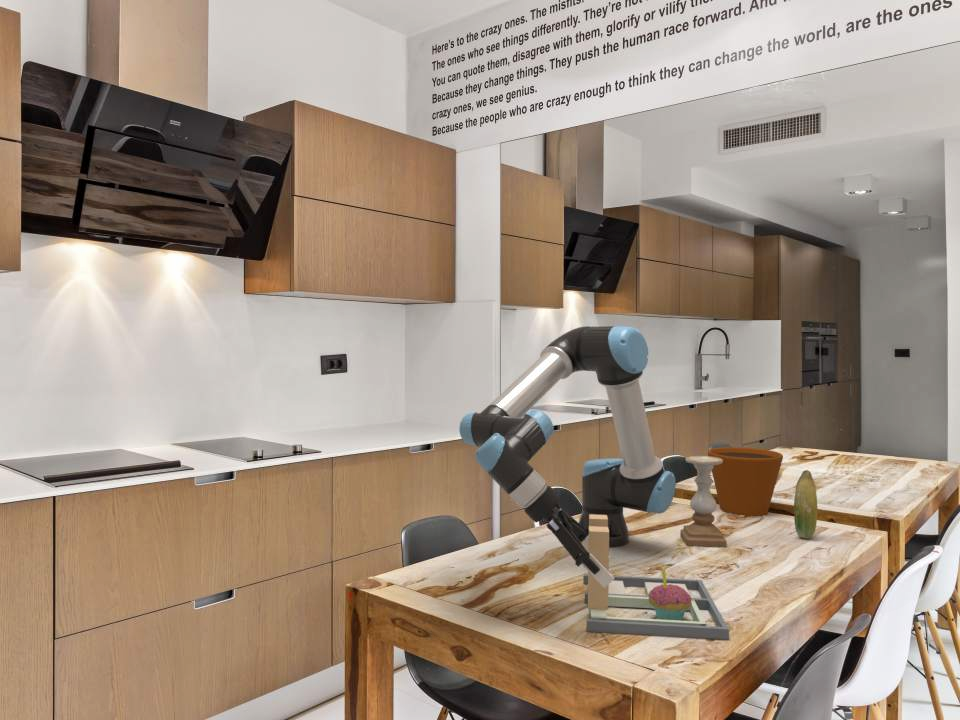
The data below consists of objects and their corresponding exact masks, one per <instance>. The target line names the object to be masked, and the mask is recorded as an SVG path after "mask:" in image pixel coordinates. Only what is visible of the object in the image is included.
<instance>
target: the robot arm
mask: <svg viewBox="0 0 960 720" xmlns="http://www.w3.org/2000/svg"><path fill="white" fill-rule="evenodd" d="M648 356H649V347H648V344H647V340H646V339H645V337H644V335H643V334H642V332H641V331H640V330H638V329H637V328H635V327H634V326H633V327H632V326H624V325H615V326H614V325H613V326H611V325H610V326H609V325H608V326H605V325H604V326H580V327H576V328H574V329H571V330H569V331H567V332H565V333H563V334H562V335H560V336H558V337H557V338H555V339H554V340H553V341H551V342H550V343H549V344H548V345H547V346H545V347H544V348H543V349H542V351H541V352H540V356H539V358H538V359H537V360H536V361H535V362H534V363H533V364H532V365H531V366H530V367H528V369H526V371H525V370H524V372H523V373H522V374H521V375H520V376H518V378H517V379H515V380H514V381H513V382H512V383H511V384H510V385H509V386H508V387H507V388H506V389H505V390H504V391H502V392H501V393H500V394H499V395H498V396H497V397H496V398H494V399H493V400H492V402H491V403H490V404H489V405H488V406H486V408H484V409H483V410H481V412H470V413H467V414H465V415H464V416H463V417H462V418H461V420H460V422H459V430H458V431H459V435H460V438H461V440H462V441H463V442H464V443H465V444H468V445H471V446H475V447H479V448H477V450H476V451H475V452H474V459H475V461H476V462H477V463H478V465H479V466H480V467H481V468H482V469H483V470H484V472H485V473H486V474H487V475H488V476H489V477H491V479H492V480H494V482H495V483H496V484H497V485H499V487H500V488H502V489H503V491H504V492H505V493H506V494H508V496H509V497H510V499H509V501H510V502H513V503H514V502H515V503H516V504H517V505H518V506H519V507H520V508H524V511H523V512H524V513H525V514H527V516H528V517H529V518H530V520H531V521H533V522H534V523H539V522H541V521H542V520H543V519H545V520H546V522H547V524H546V527H547V529H548V530H550V531H551V533H552V534H553V535H554V536H555V538H556V539H557V540H558V541H559V542H560V544H561V545H562V547H564V549H565V550H566V551H567V552H568V553H569V555H570V556H571V557H572V559H573V560H574V561H575V565H576V566H577V567H578V568H579V567H580V566H582V567H583V568H584V569H585V570H586V571H587V573H588V572H589V573H590V574H591V575H592V576H593V577H594V578H595V579H596V580H597V581H598V582H599V583H600V584H601V585H602V586H603V587H604V588H605V587H606V586H607V585H608V584H609V583H611V582H612V581H613V580H614V577H613V576H614V575H612V574H611V573H610V571H609V572H608V571H607V570H606V569H605V568H604V567H603V566H602V565H601V564H600V563H599V562H598V561H597V559H596V558H595V557H594V556H593V555H592V554H589V553H588V547H589V514H593V515H607V518H608V529H609V547H618V546H619V547H620V546H623V545H627V544H628V543H629V542H630V532H629V528H628V525H627V522H626V518H625V516H624V509H629V510H635V511H638V512H639V511H640V512H645V513H647V514H651V513H652V514H660V515H661V514H663V513H665V512H667V510H668V509H669V508H670V506H671V504H672V502H673V500H674V496H675V494H676V486H677V484H676V477H675V475H674V473H673V472H671V471H669V470H665V469H664V465H663V461H662V459H661V458H660V457H658V456H656V454H655V449H654V444H653V440H652V436H651V431H650V425H649V421H648V417H647V413H646V408H645V404H644V398H643V395H642V390H641V386H640V379H641V378H642V376H643V375H644V374H643V373H644V371H645V369H646V368H647V365H648V362H649V357H648ZM581 371H582V372H583V371H587V372H588V371H589V372H595V373H596V378H597V381H598V383H599V384H600V385H601V386H604V387H605V390H606V394H607V397H608V402H609V406H610V411H611V416H612V421H613V424H614V427H615V432H616V437H617V441H618V445H619V448H620V453H621V457H622V458H617V457H616V458H615V457H614V458H613V457H612V458H598V459H597V458H596V459H592V460H587V461H585V462H584V464H583V466H582V475H581V478H582V481H581V482H582V484H581V485H582V487H581V488H582V489H581V490H582V491H581V492H582V493H581V495H582V496H581V497H582V498H581V499H582V500H581V501H582V505H581V507H582V508H581V513H580V514H581V515H580V516H579V517H580V518H579V520H578V521H577V520H576V519H575V518H574V517H573V516H572V515H570V514H569V513H568V512H567V511H566V510H564V509H563V508H562V506H560V504H559V502H560V500H561V496H560V495H559V494H558V493H557V492H556V491H555V490H554V489H553V488H552V486H550V485H547V481H546V480H545V479H544V478H543V477H542V476H541V475H540V474H539V473H538V472H537V471H536V470H535V469H534V467H532V466H531V464H530V463H529V462H530V461H531V460H532V458H533V457H534V456H535V455H536V454H537V453H538V452H539V451H540V450H541V449H542V447H543V446H545V445H546V444H547V442H548V440H549V439H550V438H551V436H552V435H553V434H554V430H555V429H554V428H555V427H554V423H553V421H552V419H551V418H550V417H549V416H548V414H546V413H545V412H544V411H542V410H541V409H540V410H539V409H532V408H533V406H535V405H536V404H537V403H538V401H540V400H541V399H542V398H543V397H544V396H545V395H546V394H547V393H549V391H550V390H551V389H552V388H553V387H554V386H556V384H557V383H558V382H559V381H561V380H565V379H567V378H569V377H570V376H571V375H572V374H573V373H576V372H581ZM610 559H611V556H610V555H609V560H610Z"/></svg>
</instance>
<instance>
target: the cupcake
mask: <svg viewBox="0 0 960 720" xmlns="http://www.w3.org/2000/svg"><path fill="white" fill-rule="evenodd" d="M661 565H662V567H661V574H662V578H663V584H664V585H663V584H662V585H660V586H657V587H654V589H652V590H651V591H650V593H649V602H650V603H651V605H652V606H654V608H653V609H654V611H655V616H656V619H661V620H679V621H683V619H684V616H685V614H686V611H687V610H686V609H689V608H690V607H691V605H692V602H691V598H692V596H691V594H690V593H689V594H690V595H689V594H688V593H687V592H686V591H685V590H684V589H682V588H681V587H679V586H678V585H671V584H670V585H667V582H666V578H667V576H666V575H667V574H666V567H665V566H664V564H663V563H661ZM690 596H691V597H690Z"/></svg>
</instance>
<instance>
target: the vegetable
mask: <svg viewBox="0 0 960 720" xmlns="http://www.w3.org/2000/svg"><path fill="white" fill-rule="evenodd" d="M793 515H794V517H793V519H794V520H793V521H794V527H795V531H796V533H797V535H798V536H799V537H800V538H802V539H806V540H807V539H811V538H812V537H813V535H815V533H816V527H817V523H818V522H817V521H818V495H817V490H816V484H815V481H814V478H813V476H812V473H811V471H810V470H807V469H805V470H803V471H802V473H801V474H800V476H799V478H798V480H797V482H796V485H795V493H794V499H793Z"/></svg>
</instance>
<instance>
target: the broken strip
mask: <svg viewBox="0 0 960 720" xmlns="http://www.w3.org/2000/svg"><path fill="white" fill-rule="evenodd" d="M589 526H596V527H608V518H607V515H593V514H589ZM662 584H663V583H654V582H645V587H644V588H645V589H644V590H645V592H646V596H649V593H650V591H651V590H652V589H654V587H657V586H660V585H662ZM670 584H671V585H678V586H679V587H681V588H682V589H684V590H685V591H686V592H687V593H688V594H689V595H690V597H691V598H692V595H691V594H690V592H689V589H687V588H686V586H685V584H675V583H667V585H670ZM663 585H664V584H663ZM608 594H626V589H625V586H624V584H623V581H614V580H613V581H612V582H611V583H609V587H608ZM626 595H627V594H626Z"/></svg>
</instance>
